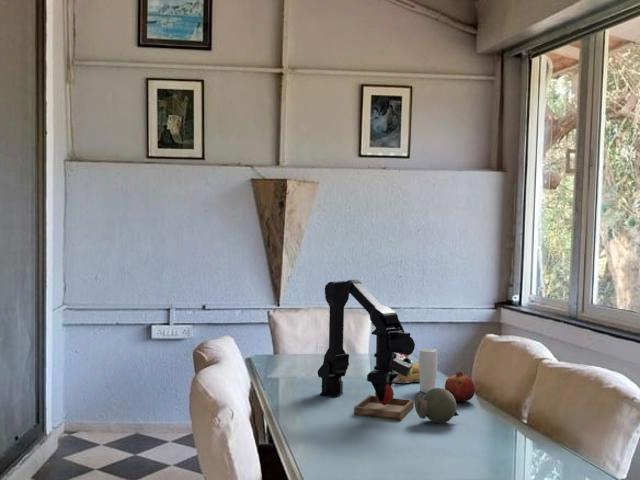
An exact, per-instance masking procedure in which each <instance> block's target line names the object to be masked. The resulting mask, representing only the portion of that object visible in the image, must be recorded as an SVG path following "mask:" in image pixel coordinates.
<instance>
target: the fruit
mask: <svg viewBox="0 0 640 480" xmlns="http://www.w3.org/2000/svg"><path fill="white" fill-rule="evenodd" d="M475 388H476V387H475V384H474V380H473V379H472V378H471V377H470V376H468V375H466V374H465V375H464V374H463V371H459V372H456V373H455V374H452V375H450V376H449V377H448V378H447V379H446V381H445V382H444V389H446V390H448V391H449V390H453V391H454V393H453V394H452V395H453V396H454V398H455V401H456V402H459V403H461V402H462V403H463V402H464V403H465V402H468V401H470V400H472V398H473V397H474V395H475V391H476V389H475Z"/></svg>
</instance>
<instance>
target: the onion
mask: <svg viewBox="0 0 640 480" xmlns="http://www.w3.org/2000/svg"><path fill="white" fill-rule="evenodd" d="M374 391H375V390H374ZM374 394H375V395H374V396H376V398H377V400H378V401H379V398H378V396H377V394H376V391H375V392H374ZM394 395H395V394H394V389H393V387H392V386H390V385H389V384H387V385H386V389H385V395H384V400H383V401H379V402H380V403H381V404H382V405H386V404H388V403H389V402H390V401H391V400H392V398H394Z"/></svg>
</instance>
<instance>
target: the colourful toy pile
mask: <svg viewBox="0 0 640 480" xmlns="http://www.w3.org/2000/svg"><path fill="white" fill-rule="evenodd" d="M396 354H397V358H398V359H402V360H404V359H405V358H406V357H407V358H409V359H410V360H411V364H412V368H411V370H410V373H409V375H407V376H403V375H401V374H400V373H397V372H396V371H394V374H399V375H398V376H397V377H396V378H394V379H393V382H392V383H395V384H396V383H398V384H406V383H407V384H408V383H413V382H415V383H417V382H418V383H420V377H419V363H418V361H417V362H414V360H412V359H411V358H410V357H409V355H403V354H399V353H396ZM376 371H378V370H376Z"/></svg>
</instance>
